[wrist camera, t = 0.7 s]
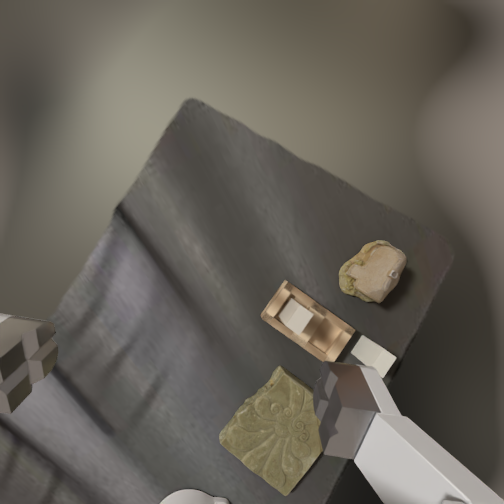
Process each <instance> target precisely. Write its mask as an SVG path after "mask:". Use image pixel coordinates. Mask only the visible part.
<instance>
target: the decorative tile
mask: <svg viewBox="0 0 504 504" xmlns="http://www.w3.org/2000/svg"><path fill="white" fill-rule="evenodd" d="M313 392H314V390H313V389H311V388H310V387H309V386H308V385H306V384H305V383H304V382H303V381H301V380H300V379H298V378H297V377H296V376H294V375H293V374H292V373H290V372H289V371H288V370H287V369H285V368H284V367H282V366H278V367H277V368H276V369H275V371H274V372H273V374H272V376H271V378H270V380H269V381H268V383H266V384H265V385H264V386H263V387H262V388H260V389H259V390H258V392H257V393H256V394H255V395H254V396H252V397H250V398H248V399H246V401H245V402H244V404H243V405H242V406H240V408H239V409H238V410H237V411H236V413H235V415H234V416H233V418H232V419H231V420H230V421H229V422H228V425H226V426H225V427H224V428H223V430H222V431H221V433H220V434H219V439H220V443H221V445H223V446H224V447H225V448H226V449H227V450H228V451H230V452H231V453H232V454H233V455H234V456H236V457H237V458H239V459H240V460H241V461H242V462H243V464H244V465H246V466H247V467H248V468H249V469H250V470H251V471H253V472H254V473H255V474H258V475H259V476H261V477H262V478H263V479H264V480H265V481H266V482H267V483H269V484H270V485H271V486H272V487H274V488H276V489H278V490H279V491H280V492H281V493H282V494H283V495H285V496H287V495H288V494H289V493H290V492H291V490H292V489H293V488H294V487H295V486H296V484H297V483H298V482H299V480H300V479H301V478H302V477H303V475H304V474H305V473H306V472H307V471H308V469H309V468H310V467H311V465H312V464H313V463H314V461H315V460H316V459H317V457H318V456H319V455H320V453H321V452H322V451H323V449H322V445H321V440H320V436H319V431H318V429H319V426H320V424H321V421H320V420H319V419H318V418H317V417H316V415H315V412H314V407H313Z"/></svg>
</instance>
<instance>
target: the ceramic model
mask: <svg viewBox="0 0 504 504" xmlns="http://www.w3.org/2000/svg"><path fill="white" fill-rule="evenodd" d="M405 264H406V256H405V255H404V253H403V252H402V251H401V250H398V249H396V248H395V247H394V246H392V245H390V243H389V242H387V241H381V240H377V241H375V242H371V243H368V244H366V245H365V246H363V248H362V249H361V251H360V252H359V253H358V254H357V255H355V256H354V257H353V258H352V259H350V260H349V261H347V262H346V263H345V264H344V265H343V266H342V267H341V269H340V271H339V285H340V288H341V290H342V291H343V292H344V293H345V294H350V295H351V296H356V297H359V298H360V299H362V300H363V301H366V302H372V301H376V302H378V303H380V302H382V301H383V300H384V299H385V297H386V296H387V295H388V294H389V292H390V291H392V290H393V289H394V288H395V286H396V285H397V283H398V281H399V278H400V275H401V273H402V271H403V269H404V267H405Z"/></svg>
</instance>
